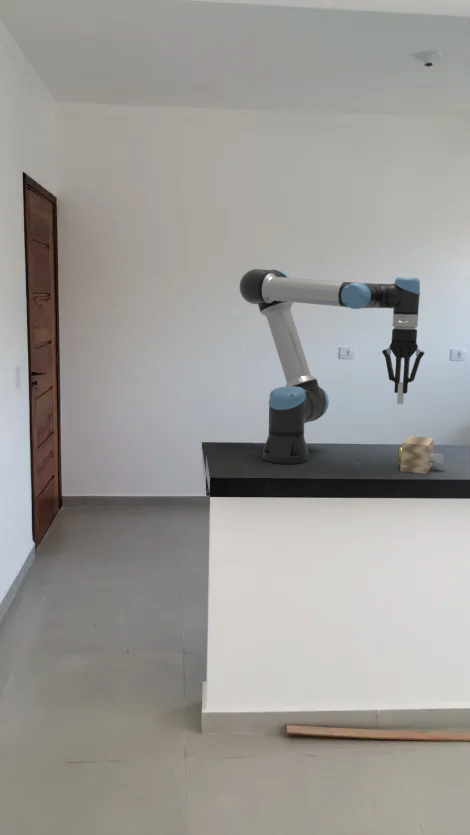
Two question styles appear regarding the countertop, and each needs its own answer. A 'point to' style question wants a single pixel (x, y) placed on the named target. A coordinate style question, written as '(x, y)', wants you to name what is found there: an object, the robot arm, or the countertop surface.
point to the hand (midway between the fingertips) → (400, 403)
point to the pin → (433, 457)
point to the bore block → (416, 454)
